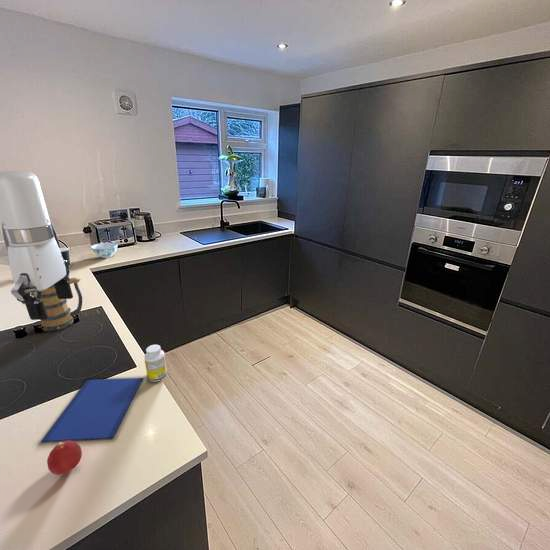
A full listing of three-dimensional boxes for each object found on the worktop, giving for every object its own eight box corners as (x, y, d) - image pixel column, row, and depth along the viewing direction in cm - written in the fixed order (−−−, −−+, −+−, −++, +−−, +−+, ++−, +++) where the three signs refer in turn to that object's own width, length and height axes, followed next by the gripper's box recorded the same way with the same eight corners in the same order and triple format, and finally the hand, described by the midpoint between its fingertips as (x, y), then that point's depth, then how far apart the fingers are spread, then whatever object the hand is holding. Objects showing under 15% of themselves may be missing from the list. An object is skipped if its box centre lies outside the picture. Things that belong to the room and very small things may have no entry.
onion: (51, 467, 61) (40, 440, 58) (82, 451, 65) (74, 425, 62) (53, 489, 57) (42, 462, 54) (87, 471, 61) (78, 444, 58)
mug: (37, 322, 114) (22, 275, 107) (87, 310, 124) (76, 266, 117) (37, 337, 105) (21, 287, 98) (91, 322, 115) (80, 276, 108)
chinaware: (98, 253, 197) (96, 242, 194) (122, 253, 200) (120, 242, 197) (90, 260, 184) (87, 249, 181) (115, 259, 186) (113, 248, 183)
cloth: (41, 441, 67) (41, 440, 67) (87, 380, 85) (87, 379, 85) (113, 438, 68) (113, 437, 68) (143, 379, 86) (142, 377, 86)
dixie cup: (76, 265, 176) (72, 247, 172) (66, 269, 168) (62, 251, 164) (63, 264, 176) (59, 247, 172) (53, 269, 169) (48, 251, 164)
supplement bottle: (153, 369, 90) (148, 342, 87) (170, 370, 90) (166, 343, 86) (144, 382, 85) (139, 353, 82) (162, 383, 85) (158, 354, 81)
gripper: (38, 225, 67) (58, 292, 73) (-26, 246, 51) (7, 329, 57) (73, 225, 68) (89, 291, 74) (20, 246, 52) (47, 327, 58)
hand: (53, 308), depth 66 cm, fingers open, 9 cm apart
